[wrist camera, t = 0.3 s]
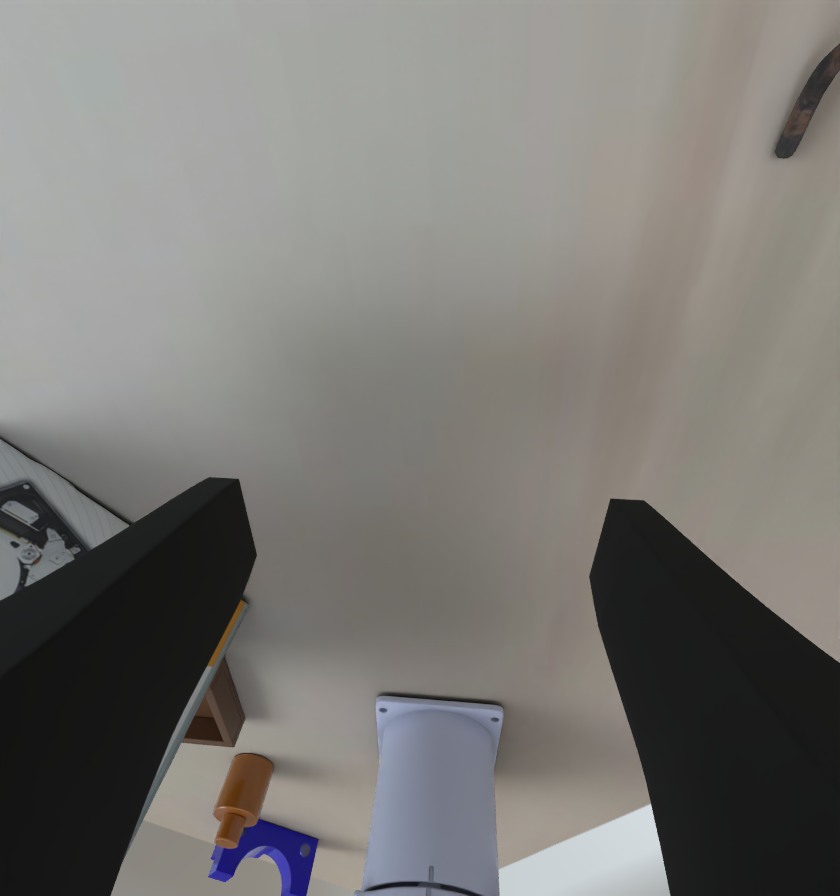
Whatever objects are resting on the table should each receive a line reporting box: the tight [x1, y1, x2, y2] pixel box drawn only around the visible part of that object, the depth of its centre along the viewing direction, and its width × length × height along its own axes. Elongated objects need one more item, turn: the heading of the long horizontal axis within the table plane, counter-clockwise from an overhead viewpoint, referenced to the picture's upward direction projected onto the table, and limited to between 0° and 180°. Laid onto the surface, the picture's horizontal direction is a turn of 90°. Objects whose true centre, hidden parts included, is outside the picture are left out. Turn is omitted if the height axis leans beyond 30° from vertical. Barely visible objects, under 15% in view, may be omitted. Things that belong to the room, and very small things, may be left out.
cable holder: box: [208, 819, 318, 896], centre depth 41 cm, size 8×4×4 cm, turn 58°
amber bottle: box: [213, 754, 274, 849], centre depth 34 cm, size 3×3×5 cm
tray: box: [181, 657, 245, 747], centre depth 31 cm, size 7×21×2 cm, turn 90°
